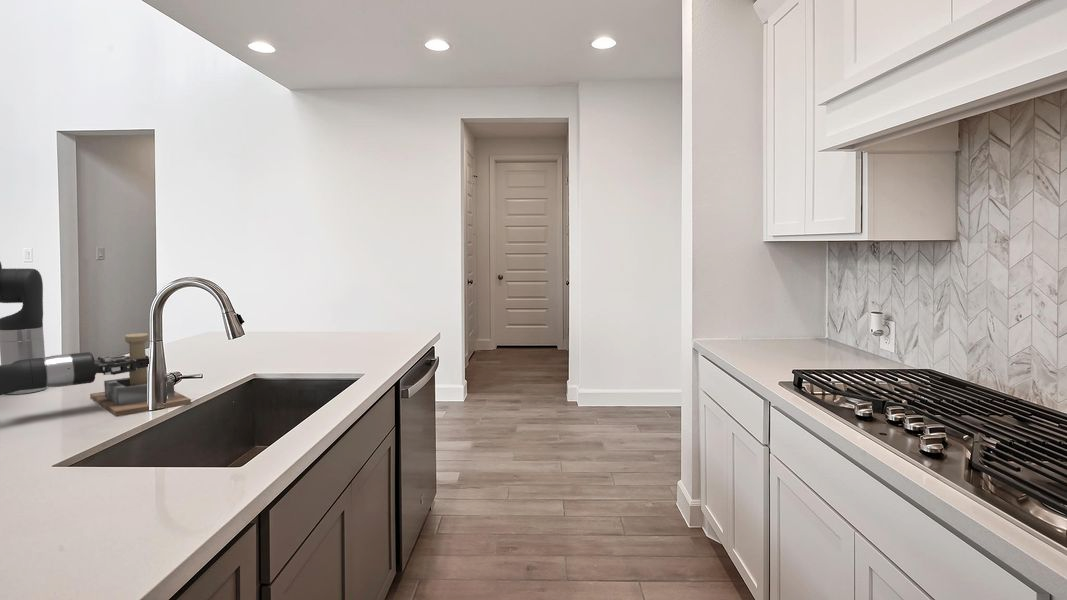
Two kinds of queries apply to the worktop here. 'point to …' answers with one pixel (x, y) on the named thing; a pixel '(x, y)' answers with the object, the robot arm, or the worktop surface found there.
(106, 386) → the wooden base with tray
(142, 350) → the handle
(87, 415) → the worktop surface
